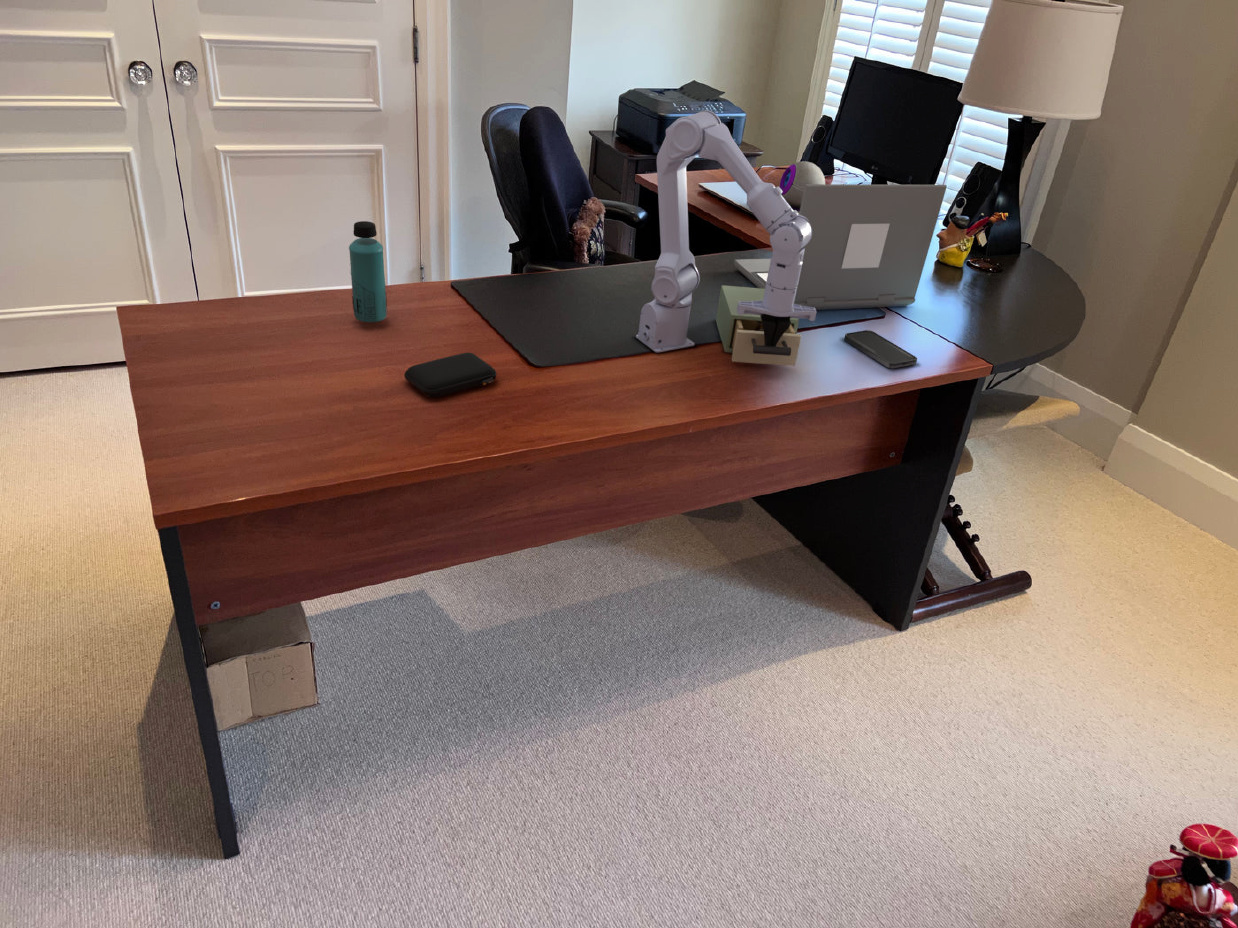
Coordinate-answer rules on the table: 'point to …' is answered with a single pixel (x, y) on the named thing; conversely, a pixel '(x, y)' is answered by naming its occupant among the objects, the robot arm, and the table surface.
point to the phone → (880, 349)
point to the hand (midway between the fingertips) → (768, 351)
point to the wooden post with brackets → (759, 326)
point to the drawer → (762, 345)
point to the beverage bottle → (367, 274)
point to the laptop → (861, 245)
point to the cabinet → (729, 311)
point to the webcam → (799, 182)
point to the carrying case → (450, 374)
